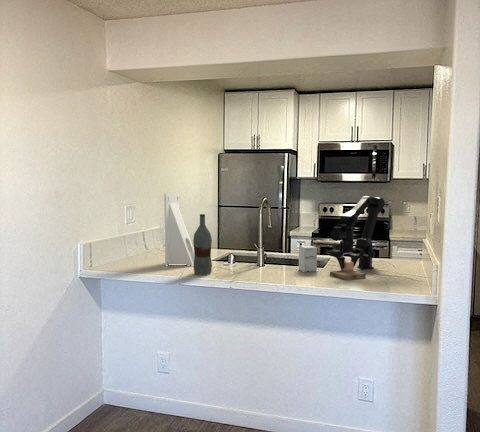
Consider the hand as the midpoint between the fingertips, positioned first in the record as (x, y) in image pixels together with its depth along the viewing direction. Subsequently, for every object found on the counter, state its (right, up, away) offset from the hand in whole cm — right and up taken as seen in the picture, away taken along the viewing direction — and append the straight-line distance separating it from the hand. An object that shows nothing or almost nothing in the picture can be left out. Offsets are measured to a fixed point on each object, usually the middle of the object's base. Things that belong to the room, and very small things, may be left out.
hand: (347, 269), depth 240 cm
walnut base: (-3, -2, -14) cm, 14 cm away
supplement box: (-20, -1, +2) cm, 20 cm away
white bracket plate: (-87, 0, +21) cm, 89 cm away
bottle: (-74, -2, -6) cm, 74 cm away
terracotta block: (0, -1, 0) cm, 1 cm away
